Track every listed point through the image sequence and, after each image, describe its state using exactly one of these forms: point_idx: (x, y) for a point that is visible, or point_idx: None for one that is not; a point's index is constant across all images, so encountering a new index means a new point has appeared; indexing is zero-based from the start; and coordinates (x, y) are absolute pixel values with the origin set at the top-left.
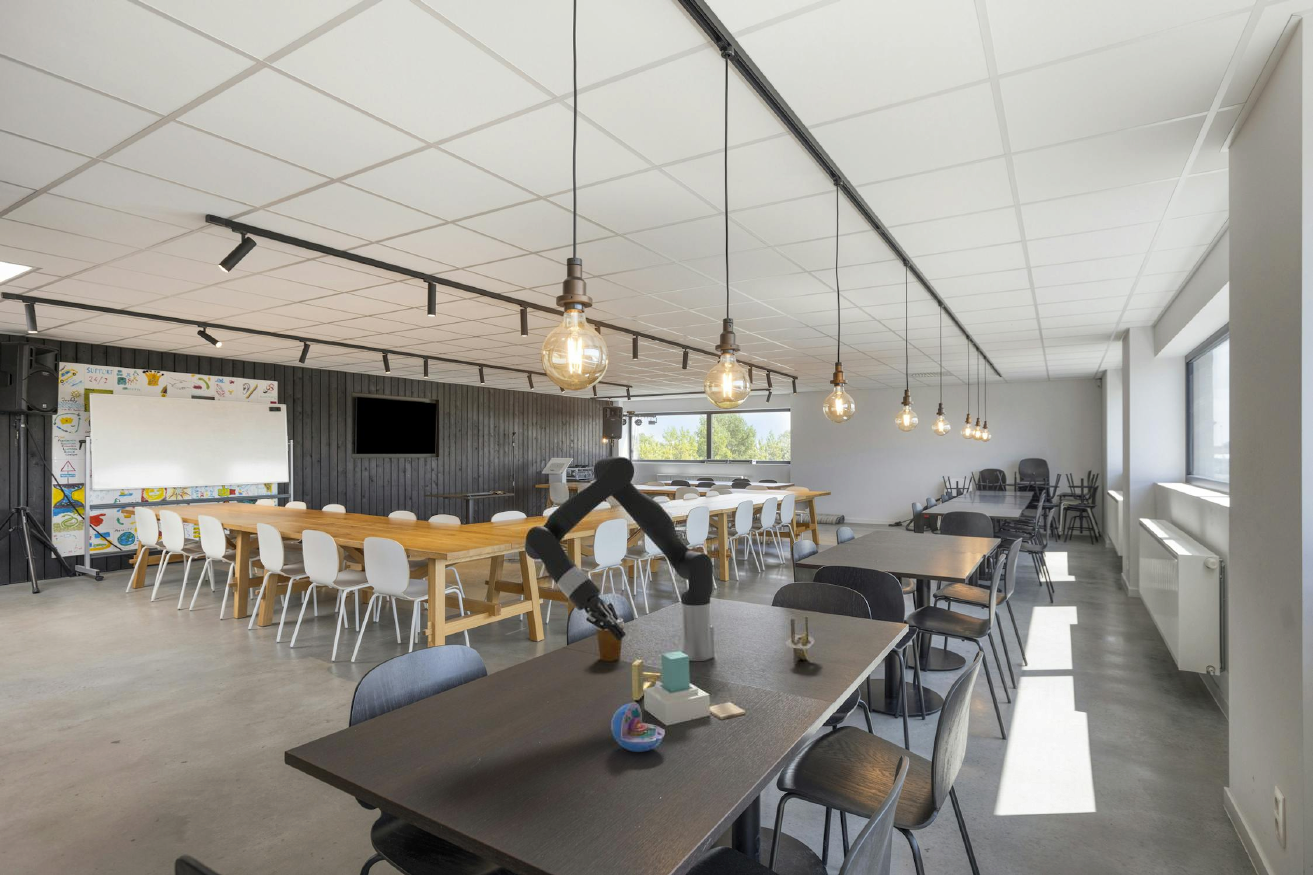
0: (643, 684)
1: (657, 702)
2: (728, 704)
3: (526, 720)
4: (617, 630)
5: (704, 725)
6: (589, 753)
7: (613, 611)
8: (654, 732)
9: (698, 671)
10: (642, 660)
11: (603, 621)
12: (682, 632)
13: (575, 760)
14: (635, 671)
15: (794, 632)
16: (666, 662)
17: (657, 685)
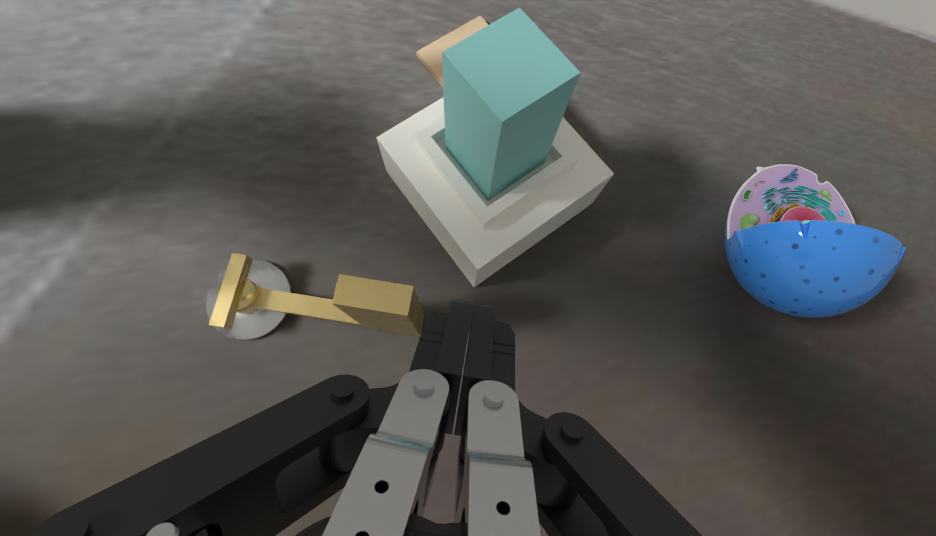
0: (246, 330)
1: (561, 214)
2: (434, 54)
3: None
4: (496, 353)
5: (572, 109)
6: (825, 385)
7: (253, 451)
8: (786, 190)
9: (101, 157)
10: (342, 275)
11: (638, 485)
12: None
13: (878, 414)
14: (414, 304)
15: None
16: (537, 114)
17: (489, 211)
